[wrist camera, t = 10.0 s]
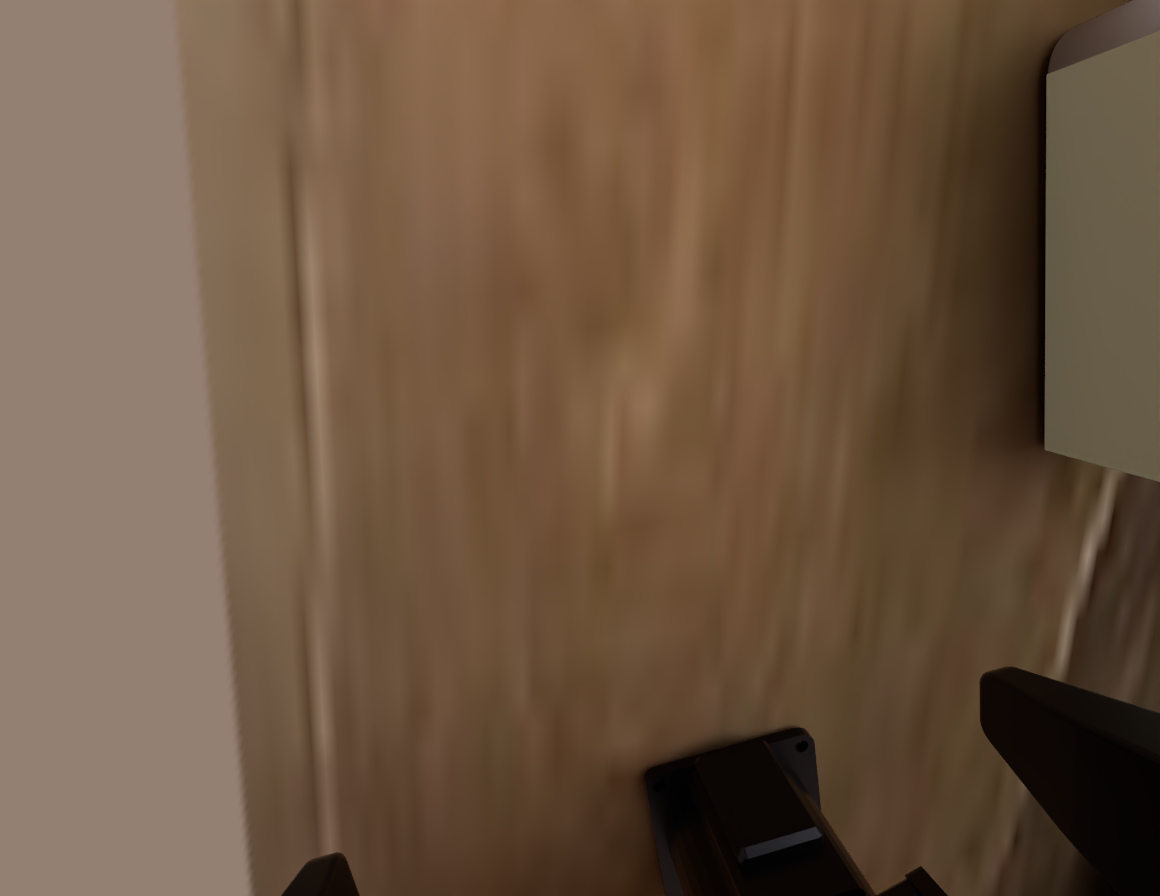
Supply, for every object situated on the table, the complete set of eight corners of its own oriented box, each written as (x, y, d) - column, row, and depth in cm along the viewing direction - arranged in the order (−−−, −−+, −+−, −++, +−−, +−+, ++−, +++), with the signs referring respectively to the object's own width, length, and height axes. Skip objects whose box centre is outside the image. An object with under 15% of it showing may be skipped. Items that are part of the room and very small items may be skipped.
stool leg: (1047, 29, 18) (1215, -49, 14) (1120, 16, 19) (1308, -65, 14) (1044, 449, 22) (1179, 487, 18) (1107, 434, 22) (1254, 467, 18)
